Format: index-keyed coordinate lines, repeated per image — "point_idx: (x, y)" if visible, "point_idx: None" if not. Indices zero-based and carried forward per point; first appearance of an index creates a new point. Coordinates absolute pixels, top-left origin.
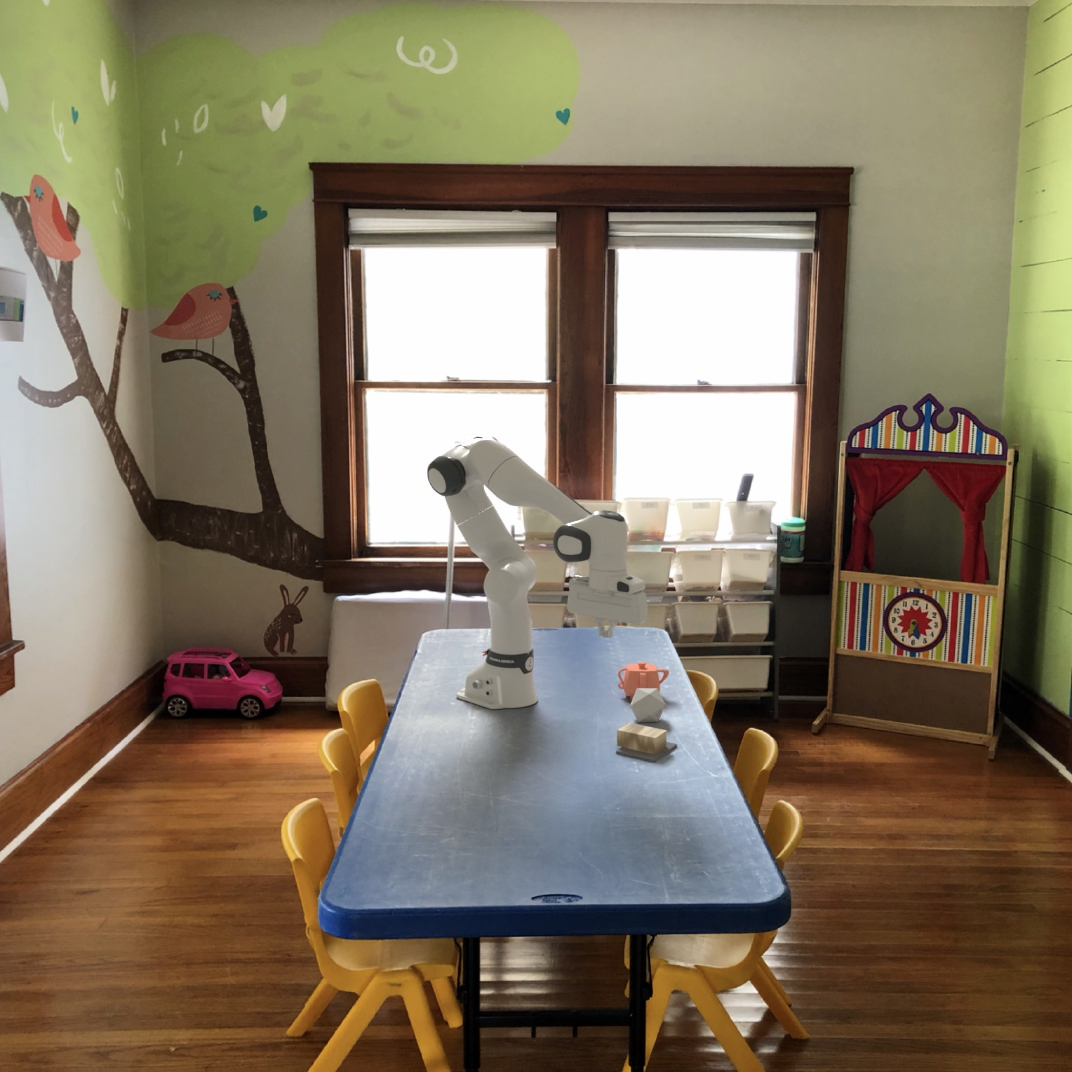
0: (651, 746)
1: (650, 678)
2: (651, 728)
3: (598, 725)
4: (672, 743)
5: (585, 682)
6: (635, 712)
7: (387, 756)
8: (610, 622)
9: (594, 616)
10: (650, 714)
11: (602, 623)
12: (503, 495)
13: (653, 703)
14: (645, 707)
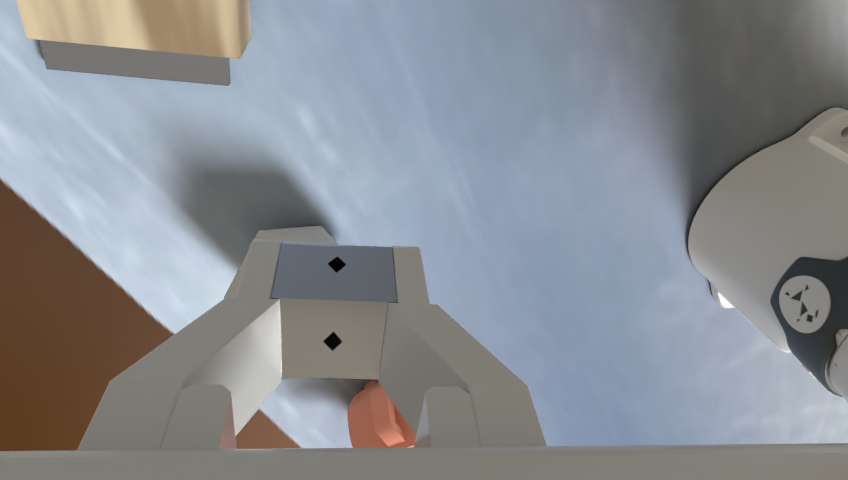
0: None
1: (371, 435)
2: (104, 31)
3: (430, 137)
4: (66, 67)
5: (582, 408)
6: (322, 235)
7: None
8: (170, 415)
9: (554, 456)
10: (257, 233)
11: (417, 428)
12: None
13: None
14: None
